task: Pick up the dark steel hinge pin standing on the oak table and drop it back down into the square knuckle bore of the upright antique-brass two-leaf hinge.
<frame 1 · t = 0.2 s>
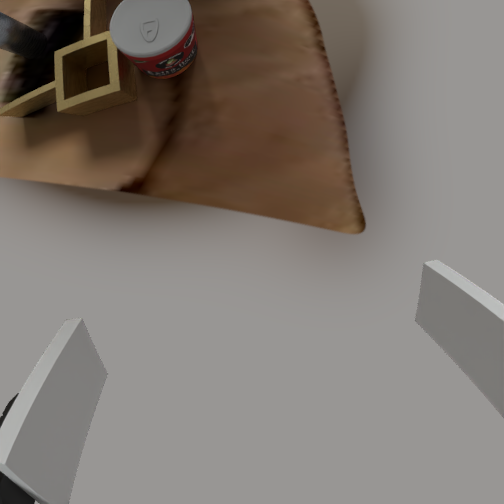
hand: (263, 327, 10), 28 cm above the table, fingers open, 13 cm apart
canned food: (167, 51, 29), on the table
hinge: (106, 80, 29), on the table
pin: (35, 46, 25), on the table
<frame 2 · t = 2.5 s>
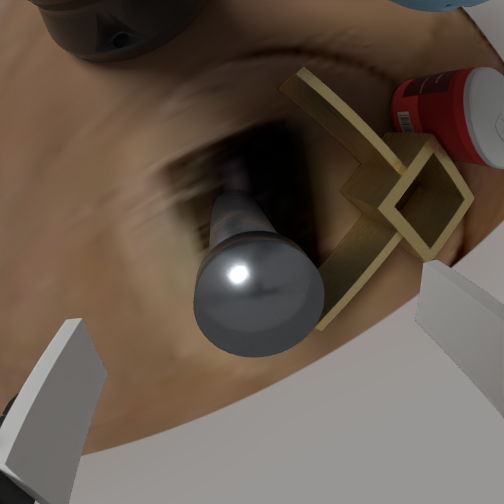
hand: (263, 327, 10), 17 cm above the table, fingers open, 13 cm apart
canned food: (417, 116, 24), on the table
hinge: (388, 186, 26), on the table
pin: (235, 212, 26), on the table
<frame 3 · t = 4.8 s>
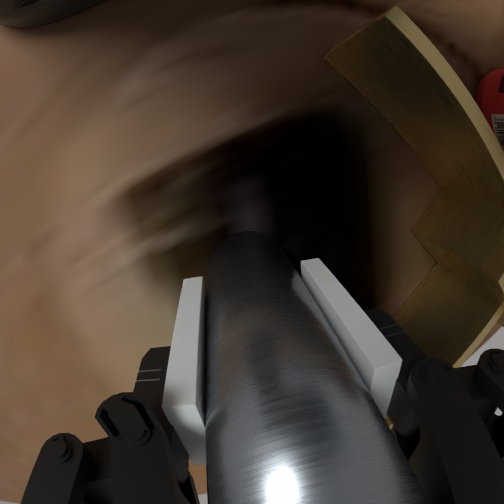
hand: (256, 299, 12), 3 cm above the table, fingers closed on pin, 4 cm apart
canned food: (501, 122, 14), on the table
hinge: (469, 221, 16), on the table
pin: (248, 270, 15), on the table, touching gripper
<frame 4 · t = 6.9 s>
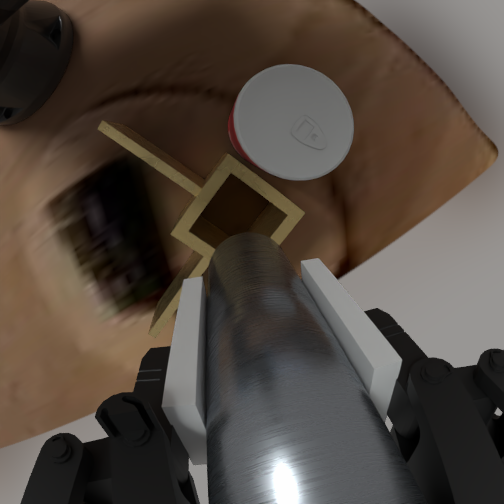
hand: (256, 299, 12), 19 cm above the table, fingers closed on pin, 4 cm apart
canned food: (267, 129, 27), on the table
hinge: (233, 205, 29), on the table
pin: (248, 270, 15), point 15 cm above the table, touching gripper
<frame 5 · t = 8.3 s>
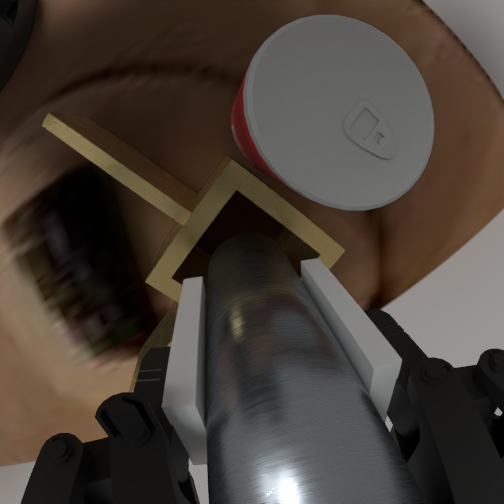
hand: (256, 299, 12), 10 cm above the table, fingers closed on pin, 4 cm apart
canned food: (285, 124, 20), on the table
hinge: (236, 228, 22), on the table
pin: (248, 270, 15), point 7 cm above the table, touching gripper
when the fingers open (9 cm above the table, at t = 9.3 s): pin drops 5 cm, resting in hinge.
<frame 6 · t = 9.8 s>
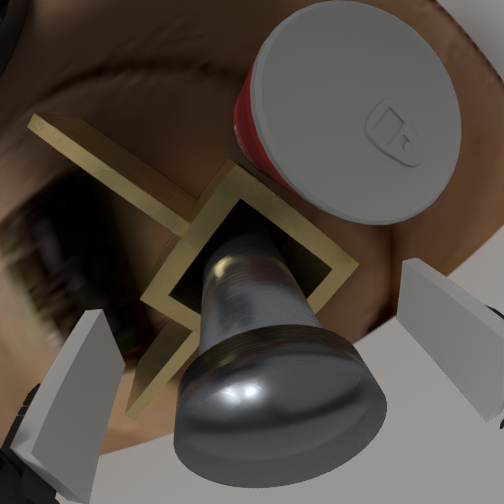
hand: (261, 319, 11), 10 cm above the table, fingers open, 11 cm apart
canned food: (292, 125, 18), on the table
hinge: (239, 237, 20), on the table
pin: (237, 238, 20), resting in hinge
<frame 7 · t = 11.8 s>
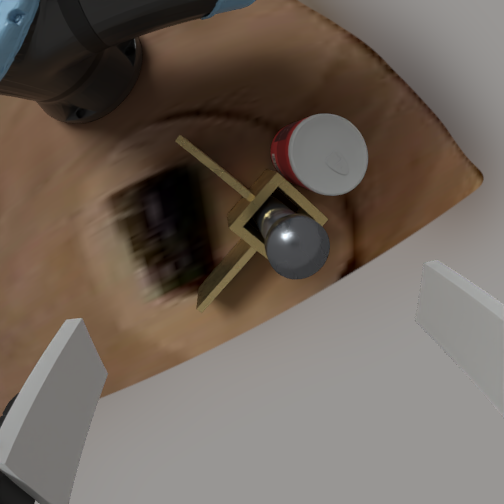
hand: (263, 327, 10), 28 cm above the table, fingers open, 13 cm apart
canned food: (299, 153, 36), on the table
hinge: (269, 211, 38), on the table
pin: (267, 211, 38), resting in hinge
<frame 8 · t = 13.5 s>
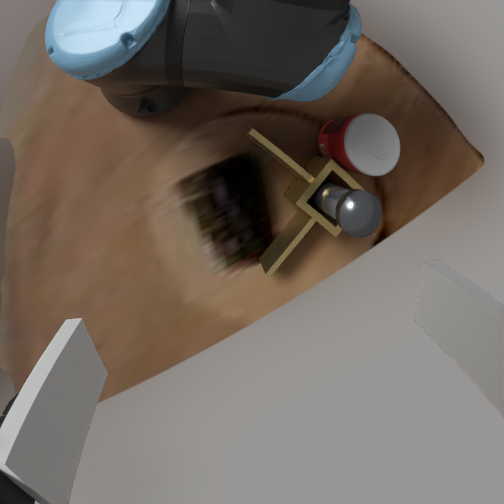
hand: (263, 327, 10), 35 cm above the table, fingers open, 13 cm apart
canned food: (339, 143, 42), on the table
hinge: (317, 190, 44), on the table
pin: (316, 191, 44), resting in hinge
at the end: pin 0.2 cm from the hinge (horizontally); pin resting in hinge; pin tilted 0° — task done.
